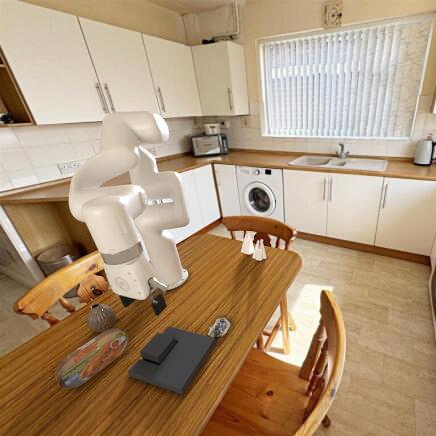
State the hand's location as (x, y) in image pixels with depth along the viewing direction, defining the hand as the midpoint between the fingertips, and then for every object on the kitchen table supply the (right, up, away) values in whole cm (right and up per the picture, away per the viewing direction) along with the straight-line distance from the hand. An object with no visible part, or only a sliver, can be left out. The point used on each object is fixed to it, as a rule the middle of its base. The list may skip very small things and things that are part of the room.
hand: (145, 307), depth 60 cm
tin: (-13, -17, +3) cm, 22 cm away
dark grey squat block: (+1, -15, +5) cm, 16 cm away
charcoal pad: (+6, -15, +4) cm, 17 cm away
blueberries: (+15, -11, +12) cm, 22 cm away
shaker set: (+20, +5, +47) cm, 51 cm away
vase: (-21, -11, +14) cm, 28 cm away
